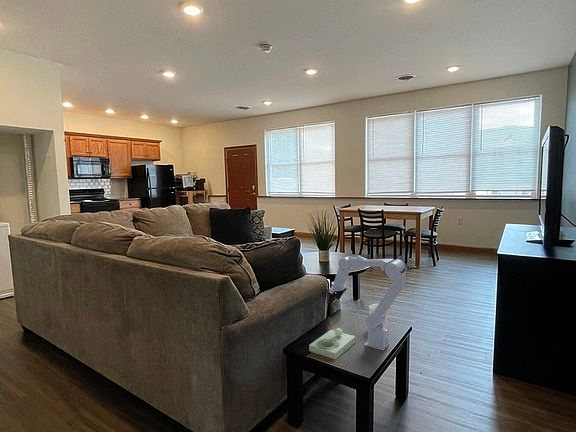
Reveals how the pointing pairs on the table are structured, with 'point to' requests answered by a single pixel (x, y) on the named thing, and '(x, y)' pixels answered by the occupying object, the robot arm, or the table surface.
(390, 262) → the robot arm
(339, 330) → the ball
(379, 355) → the table surface
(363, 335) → the table surface
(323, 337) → the putting board
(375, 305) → the candle holder
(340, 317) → the table surface
